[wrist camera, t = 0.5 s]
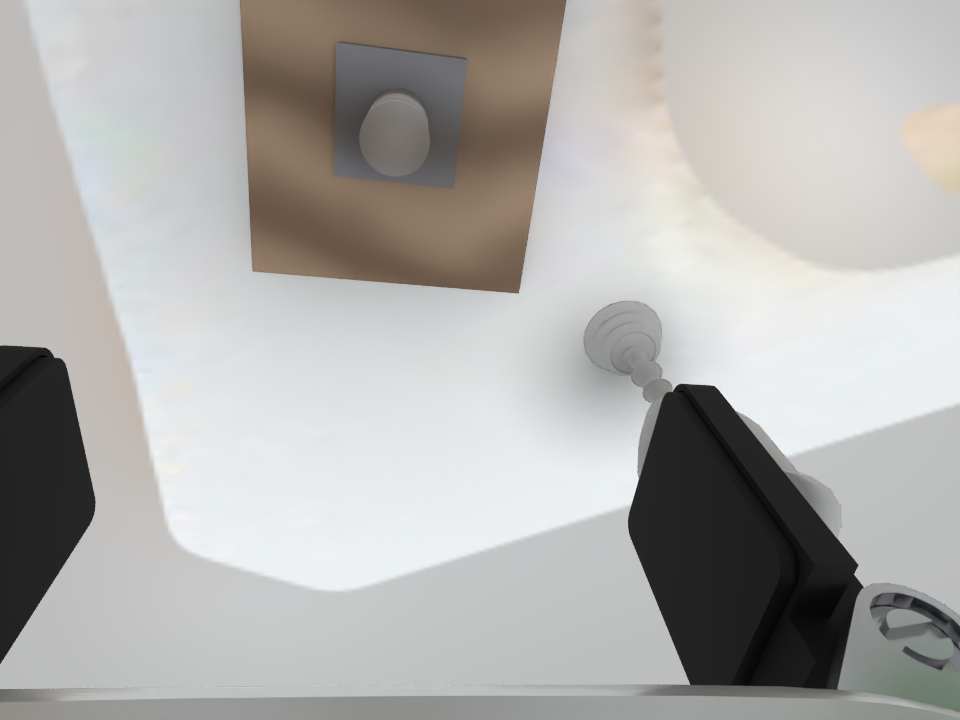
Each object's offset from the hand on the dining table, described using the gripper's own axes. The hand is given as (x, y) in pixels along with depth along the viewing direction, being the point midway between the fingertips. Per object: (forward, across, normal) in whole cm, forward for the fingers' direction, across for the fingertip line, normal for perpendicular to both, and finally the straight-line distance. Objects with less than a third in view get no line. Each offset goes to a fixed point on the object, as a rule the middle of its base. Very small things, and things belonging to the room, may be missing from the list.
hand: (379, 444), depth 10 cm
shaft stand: (+27, 0, -2) cm, 27 cm away
